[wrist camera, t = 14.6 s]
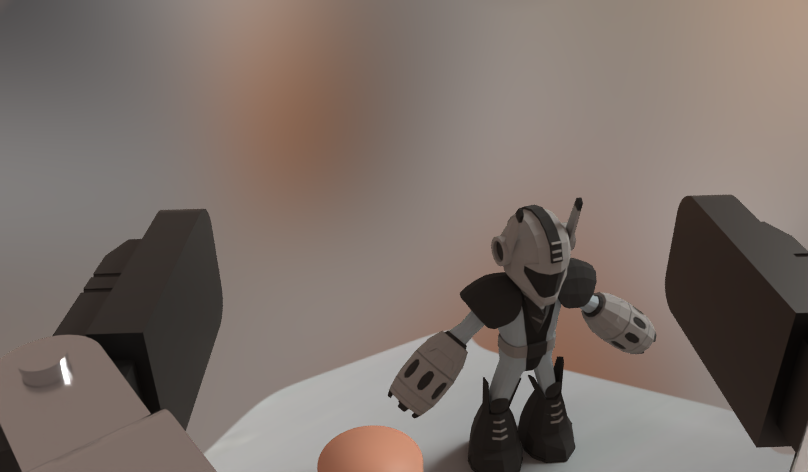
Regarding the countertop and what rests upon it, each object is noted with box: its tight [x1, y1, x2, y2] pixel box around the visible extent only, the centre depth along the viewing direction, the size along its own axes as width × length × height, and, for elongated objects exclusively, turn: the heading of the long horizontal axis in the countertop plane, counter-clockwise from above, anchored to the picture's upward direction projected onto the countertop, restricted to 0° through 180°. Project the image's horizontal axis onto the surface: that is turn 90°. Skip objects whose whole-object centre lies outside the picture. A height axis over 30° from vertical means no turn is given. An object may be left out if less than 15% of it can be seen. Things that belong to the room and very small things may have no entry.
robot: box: [388, 198, 656, 472], centre depth 47 cm, size 20×5×20 cm, turn 111°
